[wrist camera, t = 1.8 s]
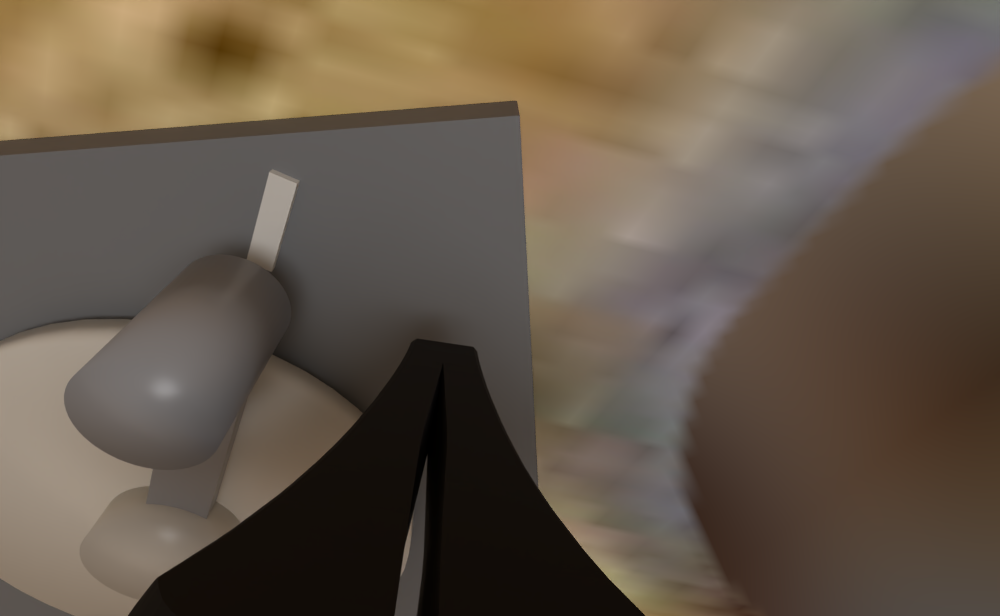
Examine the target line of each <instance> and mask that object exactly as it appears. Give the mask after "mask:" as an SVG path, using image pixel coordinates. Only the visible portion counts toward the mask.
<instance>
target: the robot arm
mask: <svg viewBox="0 0 1000 616" xmlns="http://www.w3.org/2000/svg"><path fill="white" fill-rule="evenodd" d="M426 458H427V476H426V503H425V530H424V554H423V567H422V577H421V585H420V593H419V601H418V609H417V616H645V615H644V614H643V613H642V612H641V611H640V610H639V609H638V608H637V607H636V606H635V605H634V604H633V603H632V602H631V601H630V600H629V599H628V598H627V597H626V596H625V595H624V594H623V593H622V592H621V591H620V590H619V589H618V588H617V587H616V586H615V585H614V584H613V583H612V582H611V581H610V580H609V579H608V577H607V576H606V575H605V574H604V573H603V572H602V571H601V569H600V568H599V567H598V566H597V565H596V564H595V563H594V561H593V560H592V559H591V558H590V557H589V556H588V554H587V553H586V552H585V551H584V550H583V548H582V547H581V546H580V545H579V543H578V542H577V541H576V539H575V538H574V537H573V535H572V534H571V533H570V532H569V530H568V529H567V528H566V526H565V525H564V524H563V523H562V521H561V520H560V519H559V517H558V516H557V515H556V514H555V512H554V511H553V509H552V508H551V507H550V505H549V504H548V502H547V501H546V499H545V498H544V496H543V495H542V493H541V492H540V490H539V489H538V487H537V486H536V484H535V482H534V481H533V479H532V478H531V476H530V474H529V473H528V471H527V470H526V468H525V466H524V464H523V463H522V461H521V459H520V457H519V455H518V454H517V452H516V450H515V448H514V446H513V444H512V442H511V440H510V438H509V436H508V434H507V432H506V430H505V428H504V426H503V424H502V422H501V419H500V417H499V415H498V412H497V410H496V408H495V405H494V403H493V401H492V398H491V396H490V393H489V390H488V388H487V385H486V382H485V379H484V376H483V373H482V370H481V366H480V362H479V358H478V353H477V351H476V350H475V348H474V347H471V346H465V345H458V344H451V343H444V342H438V341H431V340H424V339H415V340H414V341H412V342H411V344H410V346H409V349H408V351H407V352H406V354H405V356H404V358H403V360H402V361H401V363H400V365H399V366H398V368H397V369H396V371H395V372H394V374H393V375H392V377H391V378H390V380H389V381H388V382H387V384H386V385H385V386H384V388H383V389H382V391H381V392H380V393H379V395H378V396H377V397H376V399H375V400H374V401H373V402H372V404H371V405H370V406H369V407H368V408H367V409H366V411H365V412H364V413H363V414H362V415H361V416H360V418H359V419H358V420H357V421H356V422H355V423H354V424H353V426H352V427H351V428H350V429H349V430H348V431H347V432H346V433H345V434H344V435H343V436H342V437H341V438H340V439H339V441H338V442H337V443H336V444H335V445H334V446H333V447H332V448H330V449H329V450H328V451H327V452H326V453H325V454H324V455H323V456H322V457H321V458H320V459H319V460H318V461H317V462H316V463H315V464H313V465H312V466H311V467H310V468H309V469H308V470H307V471H306V472H304V473H303V474H302V475H301V476H300V477H299V478H298V479H296V480H295V481H294V482H293V483H292V484H291V485H289V486H288V487H287V488H286V489H285V490H283V491H282V492H281V493H280V494H278V495H277V496H276V497H275V498H273V499H272V500H271V501H269V502H268V503H267V504H265V505H264V506H263V507H261V508H260V509H258V510H257V511H256V512H254V513H253V514H252V515H250V516H249V517H248V518H246V519H245V520H244V521H242V522H241V523H240V524H238V525H237V526H236V527H234V528H233V529H231V530H230V531H229V532H227V533H226V534H224V535H223V536H221V537H220V538H218V539H217V540H215V541H214V542H212V543H211V544H209V545H207V546H206V547H204V548H203V549H201V550H200V551H198V552H196V553H195V554H193V555H192V556H190V557H189V558H187V559H185V560H184V561H182V562H181V563H179V564H178V565H176V566H175V567H173V568H171V569H170V570H168V571H167V572H165V573H163V574H162V575H160V576H159V577H157V578H156V579H155V580H154V582H153V583H152V584H151V585H150V587H149V588H148V589H147V590H146V592H145V593H144V594H143V596H142V597H141V598H140V599H139V601H138V602H137V603H136V605H135V606H134V607H133V609H132V610H131V612H130V613H129V615H128V616H395V609H396V602H397V595H398V589H399V582H400V575H401V568H402V562H403V555H404V548H405V544H406V540H407V536H408V532H409V528H410V523H411V519H412V515H413V511H414V507H415V503H416V499H417V495H418V491H419V487H420V482H421V478H422V474H423V470H424V466H425V462H426Z"/></svg>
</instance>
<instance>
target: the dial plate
mask: <svg viewBox="0 0 1000 616" xmlns="http://www.w3.org/2000/svg"><path fill="white" fill-rule="evenodd" d="M209 255H232V256H237V257H241V258H244V259H247V260H249V261H251V262H254V263H256V264H257V265H259V266H261V267H262V268H264V269H265V270H267V271H268V272H269V273H270V274H272V275H273V276H274V277H275V278H276V279H277V280H278V281H279V283H280V284H281V285H282V287H283V288H284V290H285V292H286V293H287V296H288V298H289V301H290V305H291V319H290V323H289V326H288V328H287V330H286V331H285V333H284V335H283V337H282V338H281V340H280V342H279V343H278V345H277V347H276V349H275V350H274V352H273V355H275V356H277V357H278V358H280V359H282V360H284V361H286V362H288V363H290V364H292V365H294V366H296V367H298V368H300V369H302V370H304V371H306V372H307V373H309V374H311V375H312V376H314V377H315V378H317V379H318V380H320V381H322V382H323V383H325V384H326V385H328V386H329V387H331V388H333V389H334V390H335V391H337V392H338V393H339V394H340V395H342V396H343V397H344V398H345V399H347V400H348V401H349V402H350V403H352V404H353V405H354V406H355V407H357V408H358V409H359V410H360V411H361V412H362V413H364V412H365V411H366V409H367V408H368V407H369V406H370V405H371V404H372V402H373V401H374V400H375V399H376V397H377V396H378V395H379V393H380V392H381V391H382V389H383V388H384V386H385V385H386V384H387V382H388V381H389V380H390V378H391V377H392V375H393V374H394V372H395V371H396V369H397V368H398V366H399V365H400V363H401V361H402V360H403V358H404V356H405V354H406V352H407V351H408V349H409V346H410V344H411V342H412V341H414V340H415V339H424V340H431V341H438V342H444V343H451V344H458V345H465V346H471V347H474V348H475V350H476V351H477V353H478V358H479V362H480V366H481V370H482V373H483V376H484V379H485V382H486V385H487V388H488V390H489V393H490V396H491V398H492V401H493V403H494V405H495V408H496V410H497V412H498V415H499V417H500V419H501V422H502V424H503V426H504V428H505V430H506V432H507V434H508V436H509V438H510V440H511V442H512V444H513V446H514V448H515V450H516V452H517V454H518V455H519V457H520V459H521V461H522V463H523V464H524V466H525V468H526V470H527V471H528V473H529V474H530V476H531V478H532V479H533V481H534V482H535V484H536V486H537V487H538V475H537V455H536V435H535V415H534V395H533V375H532V355H531V335H530V315H529V295H528V275H527V255H526V235H525V215H524V195H523V175H522V154H521V134H520V115H519V110H518V105H517V101H507V102H494V103H481V104H469V105H456V106H443V107H430V108H417V109H404V110H392V111H379V112H366V113H353V114H340V115H328V116H315V117H302V118H289V119H276V120H264V121H251V122H238V123H225V124H212V125H199V126H187V127H174V128H161V129H148V130H135V131H123V132H110V133H97V134H84V135H71V136H59V137H46V138H33V139H20V140H7V141H0V341H1V340H4V339H6V338H8V337H10V336H13V335H15V334H17V333H20V332H23V331H26V330H30V329H34V328H38V327H41V326H45V325H49V324H54V323H62V322H70V321H77V320H85V319H129V320H132V319H133V318H134V317H135V316H136V315H137V314H138V313H139V312H140V311H141V310H143V309H144V308H145V307H146V306H147V305H148V304H149V303H150V302H151V301H152V300H153V299H154V298H155V297H156V296H157V295H158V294H159V293H160V292H161V291H162V290H163V289H164V288H165V287H166V286H168V285H169V284H170V283H171V282H172V281H173V280H174V279H175V278H176V277H177V276H178V275H179V274H180V273H181V272H182V271H183V270H184V269H185V268H186V267H187V266H188V265H190V264H191V263H192V262H194V261H195V260H197V259H200V258H202V257H205V256H209ZM426 476H427V458H426V462H425V466H424V470H423V474H422V478H421V482H420V487H419V491H418V495H417V499H416V503H415V507H414V517H413V529H412V536H411V543H410V550H409V555H408V558H407V562H406V566H405V569H404V571H403V573H402V575H401V577H400V582H399V589H398V595H397V602H396V609H395V616H417V609H418V601H419V593H420V585H421V577H422V567H423V554H424V530H425V503H426ZM0 616H74V615H71V614H69V613H66V612H64V611H62V610H59V609H57V608H55V607H52V606H50V605H48V604H45V603H43V602H41V601H39V600H38V599H36V598H34V597H32V596H30V595H28V594H26V593H24V592H22V591H20V590H18V589H17V588H15V587H13V586H12V585H10V584H8V583H7V582H5V581H3V580H2V579H0Z"/></svg>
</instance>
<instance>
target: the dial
mask: <svg viewBox="0 0 1000 616" xmlns="http://www.w3.org/2000/svg"><path fill="white" fill-rule="evenodd" d="M290 319H291V305H290V301H289V298H288V296H287V293H286V292H285V290H284V288H283V287H282V285H281V284H280V283H279V281H278V280H277V279H276V278H275V277H274V276H273V275H272V274H270V273H269V272H268V271H267V270H265V269H264V268H262V267H261V266H259V265H257V264H256V263H254V262H251V261H249V260H247V259H244V258H241V257H237V256H232V255H209V256H205V257H202V258H200V259H197V260H195V261H194V262H192V263H191V264H190V265H188V266H187V267H186V268H185V269H184V270H183V271H182V272H181V273H180V274H179V275H178V276H177V277H176V278H175V279H174V280H173V281H172V282H171V283H170V284H169V285H168V286H166V287H165V288H164V289H163V290H162V291H161V292H160V293H159V294H158V295H157V296H156V297H155V298H154V299H153V300H152V301H151V302H150V303H149V304H148V305H147V306H146V307H145V308H144V309H143V310H141V311H140V312H139V313H138V314H137V315H136V316H135V317H134V318H133V319H132V320H129V319H85V320H77V321H70V322H62V323H54V324H49V325H45V326H41V327H38V328H34V329H30V330H26V331H23V332H20V333H17V334H15V335H13V336H10V337H8V338H6V339H4V340H1V341H0V579H2V580H3V581H5V582H7V583H8V584H10V585H12V586H13V587H15V588H17V589H18V590H20V591H22V592H24V593H26V594H28V595H30V596H32V597H34V598H36V599H38V600H39V601H41V602H43V603H45V604H48V605H50V606H52V607H55V608H57V609H59V610H62V611H64V612H66V613H69V614H71V615H74V616H128V615H129V613H130V612H131V610H132V609H133V607H134V606H135V605H136V603H137V602H138V601H139V599H140V598H141V597H142V596H143V594H144V593H145V592H146V590H147V589H148V588H149V587H150V585H151V584H152V583H153V582H154V580H155V579H156V578H157V577H159V576H160V575H162V574H163V573H165V572H167V571H168V570H170V569H171V568H173V567H175V566H176V565H178V564H179V563H181V562H182V561H184V560H185V559H187V558H189V557H190V556H192V555H193V554H195V553H196V552H198V551H200V550H201V549H203V548H204V547H206V546H207V545H209V544H211V543H212V542H214V541H215V540H217V539H218V538H220V537H221V536H223V535H224V534H226V533H227V532H229V531H230V530H231V529H233V528H234V527H236V526H237V525H238V524H240V523H241V522H242V521H244V520H245V519H246V518H248V517H249V516H250V515H252V514H253V513H254V512H256V511H257V510H258V509H260V508H261V507H263V506H264V505H265V504H267V503H268V502H269V501H271V500H272V499H273V498H275V497H276V496H277V495H278V494H280V493H281V492H282V491H283V490H285V489H286V488H287V487H288V486H289V485H291V484H292V483H293V482H294V481H295V480H296V479H298V478H299V477H300V476H301V475H302V474H303V473H304V472H306V471H307V470H308V469H309V468H310V467H311V466H312V465H313V464H315V463H316V462H317V461H318V460H319V459H320V458H321V457H322V456H323V455H324V454H325V453H326V452H327V451H328V450H329V449H330V448H332V447H333V446H334V445H335V444H336V443H337V442H338V441H339V439H340V438H341V437H342V436H343V435H344V434H345V433H346V432H347V431H348V430H349V429H350V428H351V427H352V426H353V424H354V423H355V422H356V421H357V420H358V419H359V418H360V416H361V415H362V414H363V413H362V412H361V411H360V410H359V409H358V408H357V407H355V406H354V405H353V404H352V403H350V402H349V401H348V400H347V399H345V398H344V397H343V396H342V395H340V394H339V393H338V392H337V391H335V390H334V389H333V388H331V387H329V386H328V385H326V384H325V383H323V382H322V381H320V380H318V379H317V378H315V377H314V376H312V375H311V374H309V373H307V372H306V371H304V370H302V369H300V368H298V367H296V366H294V365H292V364H290V363H288V362H286V361H284V360H282V359H280V358H278V357H277V356H275V355H273V352H274V350H275V349H276V347H277V345H278V343H279V342H280V340H281V338H282V337H283V335H284V333H285V331H286V330H287V328H288V326H289V323H290ZM413 517H414V511H413V515H412V519H411V523H410V528H409V532H408V536H407V540H406V544H405V548H404V555H403V562H402V568H401V575H402V573H403V571H404V569H405V566H406V562H407V558H408V555H409V550H410V543H411V536H412V529H413ZM401 575H400V577H401Z"/></svg>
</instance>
